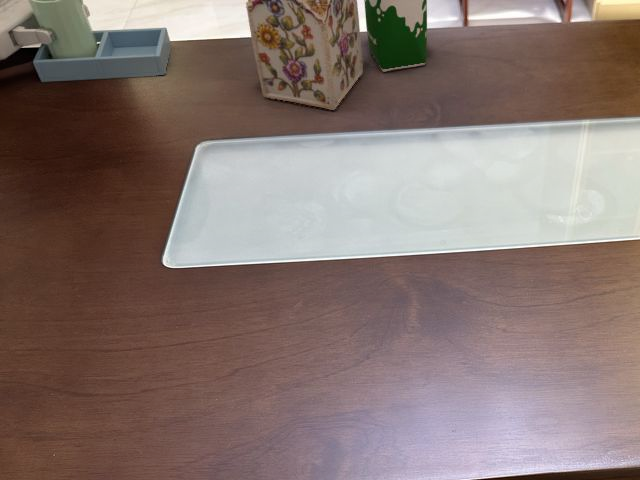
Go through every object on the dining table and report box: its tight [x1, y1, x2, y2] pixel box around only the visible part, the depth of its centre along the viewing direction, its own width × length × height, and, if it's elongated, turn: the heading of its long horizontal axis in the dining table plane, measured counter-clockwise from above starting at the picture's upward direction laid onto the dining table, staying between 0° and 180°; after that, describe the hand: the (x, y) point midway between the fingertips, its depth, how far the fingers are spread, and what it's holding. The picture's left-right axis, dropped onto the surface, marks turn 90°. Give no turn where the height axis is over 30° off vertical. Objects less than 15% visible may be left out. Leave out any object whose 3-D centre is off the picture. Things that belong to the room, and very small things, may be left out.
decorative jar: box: [245, 0, 364, 110], centre depth 101 cm, size 12×12×18 cm
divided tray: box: [32, 27, 173, 83], centre depth 110 cm, size 18×9×3 cm, turn 99°
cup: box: [28, 0, 99, 59], centre depth 106 cm, size 7×7×10 cm
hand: (69, 24), depth 105 cm, fingers closed on cup, 7 cm apart
